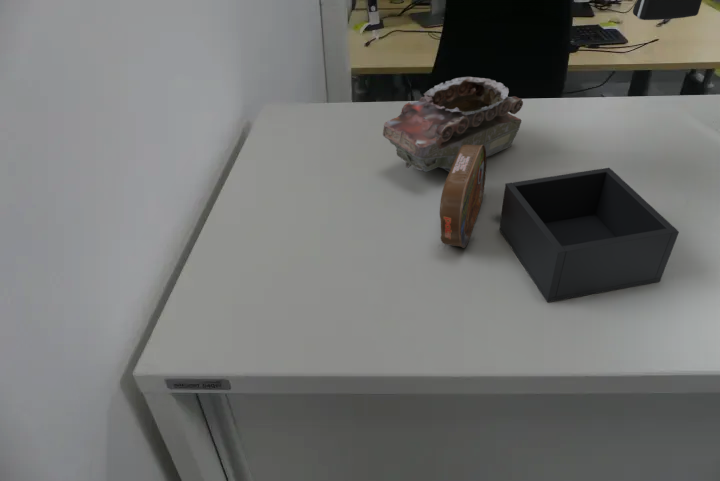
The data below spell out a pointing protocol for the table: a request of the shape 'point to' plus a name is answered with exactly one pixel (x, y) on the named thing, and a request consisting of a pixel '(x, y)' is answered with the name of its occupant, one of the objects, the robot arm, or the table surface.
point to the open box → (585, 233)
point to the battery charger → (666, 9)
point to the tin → (463, 195)
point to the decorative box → (454, 122)
